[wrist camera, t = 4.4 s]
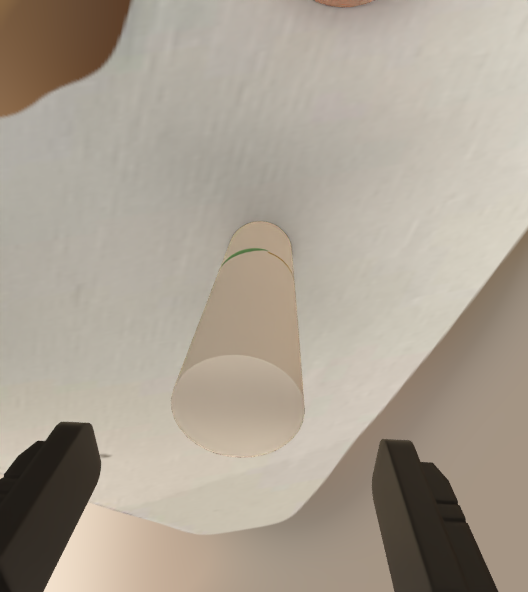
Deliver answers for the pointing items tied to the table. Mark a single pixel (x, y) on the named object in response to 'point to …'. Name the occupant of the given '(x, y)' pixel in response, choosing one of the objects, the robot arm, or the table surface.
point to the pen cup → (344, 2)
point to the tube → (245, 352)
